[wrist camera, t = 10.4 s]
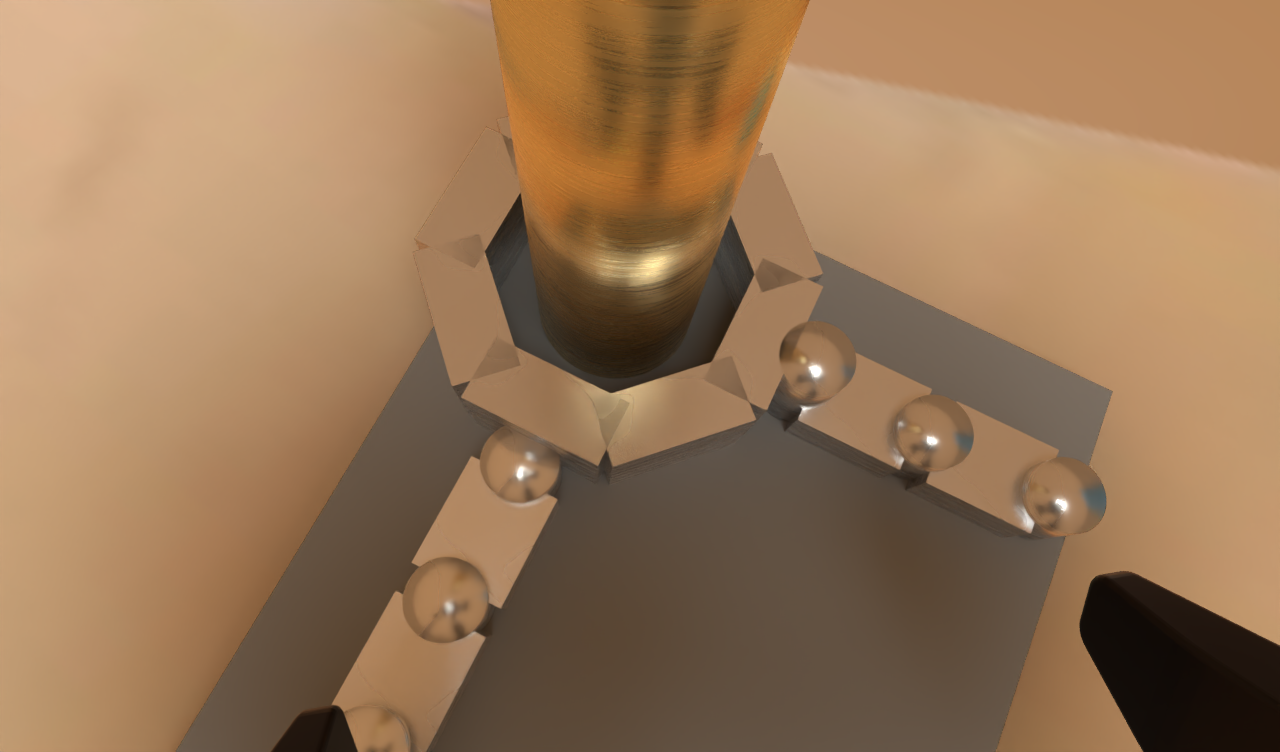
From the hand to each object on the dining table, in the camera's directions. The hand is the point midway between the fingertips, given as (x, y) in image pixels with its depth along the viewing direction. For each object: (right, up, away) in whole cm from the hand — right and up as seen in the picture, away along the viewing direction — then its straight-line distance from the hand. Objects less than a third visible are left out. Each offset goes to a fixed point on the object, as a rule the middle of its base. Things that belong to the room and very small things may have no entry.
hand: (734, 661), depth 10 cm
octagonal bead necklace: (0, 0, +8) cm, 8 cm away
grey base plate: (0, -1, +9) cm, 9 cm away
